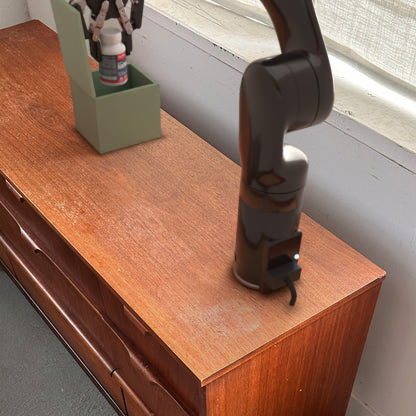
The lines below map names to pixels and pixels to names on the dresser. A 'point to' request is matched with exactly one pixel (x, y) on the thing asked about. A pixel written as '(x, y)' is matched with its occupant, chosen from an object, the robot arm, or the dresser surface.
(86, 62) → the lid
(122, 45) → the pill bottle
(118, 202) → the dresser surface
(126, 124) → the chest
